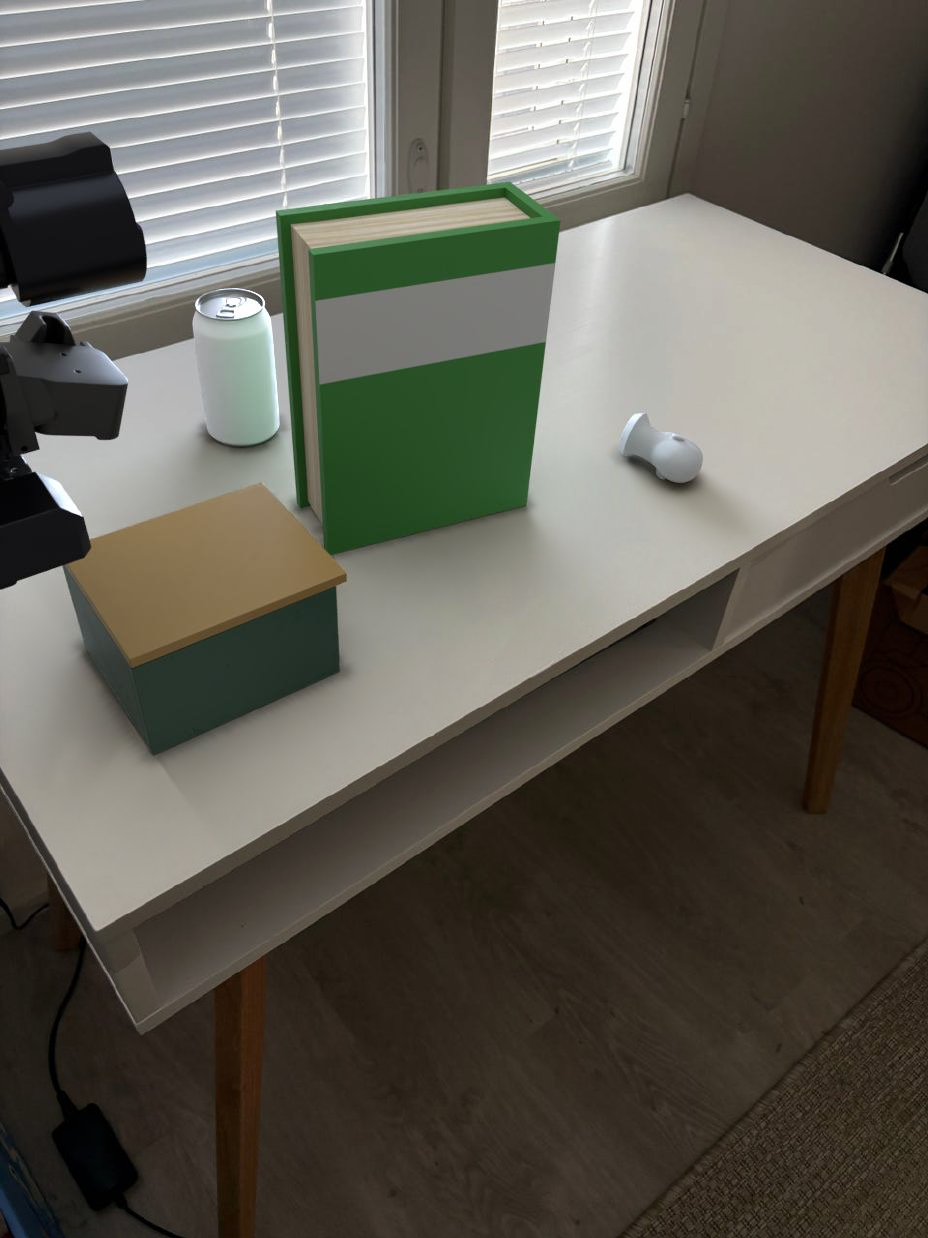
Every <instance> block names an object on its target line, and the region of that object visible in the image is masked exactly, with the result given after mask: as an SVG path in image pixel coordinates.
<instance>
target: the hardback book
mask: <svg viewBox="0 0 928 1238" xmlns="http://www.w3.org/2000/svg"><path fill="white" fill-rule="evenodd" d="M275 222H276V235H277V236H276V237H277V248H278V261H279V262H278V263H279V264H278V265H279V275H280V290H281V291H280V292H281V305H282V306H281V307H282V318H283V319H282V320H283V332H284V333H283V334H284V345H285V346H284V348H285V357H286V358H285V359H286V360H285V362H286V375H287V386H288V387H287V388H288V400H289V401H288V403H289V413H290V427H291V429H290V430H291V443H292V452H293V453H292V455H293V456H292V457H293V470H294V483H295V484H294V485H295V497H296V504H297V505H298V507H299V510H300V509H301V510H302V509H306V508H310V507H311V508H312V510H313V511H314V513H315V515H316V517H317V518H318V520H319V521H320V523H321V525H322V540H323V548H324V549H325V550H326V551H327V552H328V553H329V554H330V555H331V556H332V555H335V554H340V553H343V552H347V551H350V550H351V551H352V550H356V549H359V548H364V547H367V546H371V545H374V544H378V543H383V542H388V541H391V540H395V539H399V538H403V537H406V536H407V537H408V536H410V535H414V534H418V533H422V532H426V531H430V530H434V529H439V528H442V527H446V526H450V525H454V524H458V523H463V522H466V521H470V520H474V519H478V518H482V517H486V516H491V515H494V514H498V513H502V512H506V511H510V510H514V509H519V508H521V507H525V506H527V505H528V504H527V503H528V497H529V488H530V478H531V471H532V464H533V455H534V445H535V439H536V429H537V421H538V414H539V405H540V396H541V387H542V380H543V379H542V378H543V370H544V362H545V353H546V345H547V339H548V338H547V336H548V328H549V321H550V313H551V312H550V311H551V305H552V295H553V289H554V288H553V287H554V279H555V269H556V263H557V254H558V245H559V237H560V236H559V235H560V229H561V219H560V218H559V217H557V216H556V215H555V214H554V213H552V212H551V211H549V210H548V209H546V208H545V207H544V206H543V205H542V204H541V203H539V202H538V201H536V200H535V199H534V198H533V197H531V196H530V195H528V194H527V193H525V192H524V191H523V190H522V189H520V188H519V187H518V186H516V185H515V184H514V183H512V182H511V181H505V182H496V183H488V184H481V185H480V184H479V185H472V186H463V187H456V188H448V189H447V188H446V189H440V190H431V191H423V192H414V193H408V194H407V193H406V194H398V195H391V196H382V197H375V198H366V199H358V200H350V201H340V202H333V203H325V204H318V205H308V206H299V207H293V208H285V209H277V210H276V209H275Z"/></svg>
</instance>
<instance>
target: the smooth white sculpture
mask: <svg viewBox="0 0 928 1238" xmlns="http://www.w3.org/2000/svg"><path fill="white" fill-rule="evenodd" d="M618 444H619V445H618V447H619V450H620V451H621V453H622V456H623V457H624V458H626V457H630V456H631V457H632V456H638V457H640V458H642V459H644V460H646V461H647V462H648V463H650V464H651V465H652V466H654V467H655V474H656V476H657V477H658V479H661V480H663V481H664V480H669V481H670V482H673V483H677V484H683V483H687V482H690V481H692V480H693V479H695V478H696V477H697V476H698V474H699V473H700V472H701V470H702V467H703V462H704V455H703V452H702V450H701V448H700V447H699V445H697V444H696V443H695V441H694V442H693V441H692V440H690V439H689V438H687V436H684V435H682V434H680V433H676V432H675V433H674V432H670V431H659V430H657V429H656V428H654V427H653V425H652V424H651V423H650V419H649V416H648V413H647V412H646V413H645V412H643V413H634V414H633V415H632V416H631V417H630V419H628V422H627V423H626V424H625V426H624V429H623V431H622V432H621V436H620V439H619V443H618Z"/></svg>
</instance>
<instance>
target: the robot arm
mask: <svg viewBox="0 0 928 1238" xmlns="http://www.w3.org/2000/svg"><path fill="white" fill-rule="evenodd" d="M145 239H146V238H145V234H144V231H143V228H142V226H141V225H140V224H139V223H138V222H137V220H136V217H135V214H134V210H133V207H132V204H131V202H130V198H129V196H128V194H127V191H126V189H125V187H124V185H123V182H122V181H121V179H120V177H119V175H118V173H117V172H116V170H115V166H114V161H113V155H112V149H111V147H110V146H109V145H108V144H107V143H105V142H104V141H103V140H101V138H100V137H98V136H97V135H95V134H94V133H93V132H92V131H85V132H84V131H83V132H78V133H71V134H67V135H64V136H61V137H59V138H56V139H54V140H52V141H48V142H44V143H37V144H32V145H31V144H30V145H24V146H18V147H10V148H5V149H0V290H5V289H8V288H9V286H10V288H11V290H12V292H13V293H14V295H15V298H16V299H17V301H18V303H21V305H22V306H23V307H25V308H30V307H35V306H40V305H43V304H47V303H48V304H49V303H52V302H56V301H57V302H58V301H61V300H66V299H70V298H75V297H80V296H82V295H83V296H84V295H89V294H92V293H97V292H101V291H106V290H110V289H115V288H119V287H124V286H128V285H132V284H137V283H141V282H144V280H145V278H146V275H147V270H148V254H147V246H146V240H145ZM128 385H129V380H128V378H127V377H126V375H124V373H123V372H122V371H121V370H120V369H119V367H117V365H115V363H114V362H113V361H112V360H111V359H110V358H109V357H108V355H107V354H106V353H104V352H103V351H101V350H100V349H97V348H94V347H93V346H92V345H91V344H90V343H89V341H87V340H80V341H79V345H78V344H77V343H76V340H75V338H74V335H73V332H72V329H71V327H70V326H69V325H68V323H67V322H66V321H65V320H64V319H63V317H61V315H60V314H58V313H57V312H51V311H41V310H30V312H29V313H28V315H27V316H26V318H25V319H24V320H23V322H22V323H21V324H20V326H19V328H18V329H17V330H16V332H15V333H14V334H10V336H9V341H0V591H2V590H5V589H8V588H11V587H13V586H15V585H17V583H18V582H19V581H22V580H25V579H28V578H31V577H33V576H36V575H39V574H42V573H45V572H48V571H51V570H54V569H57V568H60V567H62V566H63V565H66V564H69V563H71V562H74V561H77V560H80V559H83V558H85V556H86V555H87V554H88V552H89V551H90V549H91V548H92V547H91V543H90V535H89V531H88V528H87V523H86V520H85V517H84V515H83V513H82V512H81V511H80V510H79V508H78V507H77V506H76V504H75V502H74V501H73V500H72V498H71V497H70V495H69V494H68V493H67V491H66V490H65V489H64V487H63V486H62V484H61V483H60V482H59V480H57V479H54V478H51V477H49V476H46V475H45V474H42V473H40V472H38V471H33V469H32V468H31V467H30V465H29V464H28V462H27V461H26V458H25V456H24V455H26V454H30V453H32V452H36V451H39V450H41V448H40V444H39V441H38V438H37V434H39V435H43V436H55V437H57V436H58V437H61V436H62V437H94V438H96V439H97V440H98V441H112V440H115V439H117V438H118V437H119V436H120V430H121V425H122V419H123V415H124V408H125V403H126V397H127V391H128Z"/></svg>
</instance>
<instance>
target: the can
mask: <svg viewBox="0 0 928 1238" xmlns="http://www.w3.org/2000/svg"><path fill="white" fill-rule="evenodd" d="M265 304H266V303H265V300H264V298H263V297H262V296H261V295H260V294H258V293H256V292H254V291H251V290H248V289H243V288H219V289H214V290H211V291H208V292H205V293H203V294H202V295H200V296H199V297H198V298H197V299H196V300H195V302H194V308H195V312H194V315H193V318H192V334H193V341H194V348H195V356H196V363H197V371H198V379H199V385H200V393H201V399H202V406H203V413H204V418H205V419H204V420H205V426H206V430H207V432H208V434H209V435H210V437H212V438H213V439H214V440H215V441H216V442H219V444H223V445H224V446H229V447H234V448H235V447H236V448H247V447H252V446H253V447H254V446H258V445H261V444H263V443H265V442H267V441H269V440H270V439H271V438H272V437H273V436H275V434H276V433H277V432H278V430H279V427H280V411H279V398H278V386H277V385H278V384H277V372H276V362H275V361H276V360H275V349H274V348H275V347H274V339H273V338H274V337H273V336H274V335H273V327H272V326H273V325H272V320H271V316H270V315H269V312H268V311H267V309H266V307H265Z"/></svg>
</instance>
